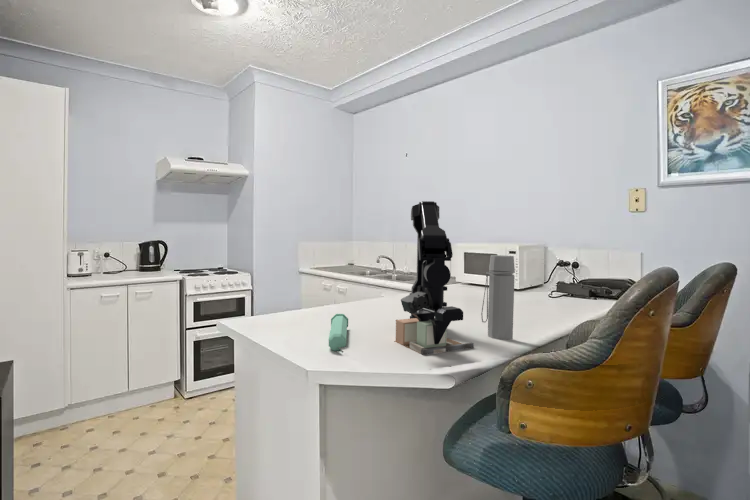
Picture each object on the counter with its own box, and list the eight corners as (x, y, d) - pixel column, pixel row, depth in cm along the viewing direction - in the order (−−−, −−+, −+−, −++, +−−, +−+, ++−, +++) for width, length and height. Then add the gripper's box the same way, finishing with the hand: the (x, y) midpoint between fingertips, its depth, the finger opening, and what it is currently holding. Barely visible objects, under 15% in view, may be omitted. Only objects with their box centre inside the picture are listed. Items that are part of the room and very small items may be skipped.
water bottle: (514, 338, 126) (517, 255, 125) (511, 345, 119) (513, 256, 118) (483, 335, 130) (485, 254, 129) (478, 341, 123) (480, 255, 122)
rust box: (395, 341, 116) (396, 319, 116) (415, 339, 119) (415, 318, 119) (403, 345, 113) (403, 322, 113) (423, 342, 116) (424, 320, 115)
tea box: (416, 344, 110) (417, 321, 110) (437, 341, 113) (437, 319, 112) (425, 348, 106) (426, 324, 106) (446, 345, 109) (447, 322, 109)
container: (343, 329, 109) (344, 310, 134) (322, 338, 109) (327, 317, 134) (351, 350, 110) (351, 327, 135) (330, 358, 110) (334, 334, 135)
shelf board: (441, 339, 124) (441, 330, 124) (473, 352, 111) (474, 342, 111) (393, 345, 117) (394, 335, 117) (422, 359, 104) (423, 349, 104)
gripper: (388, 279, 113) (387, 336, 114) (427, 288, 97) (425, 355, 97) (422, 278, 118) (421, 332, 119) (465, 286, 102) (463, 349, 102)
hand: (431, 341), depth 109 cm, fingers closed on tea box, 4 cm apart
